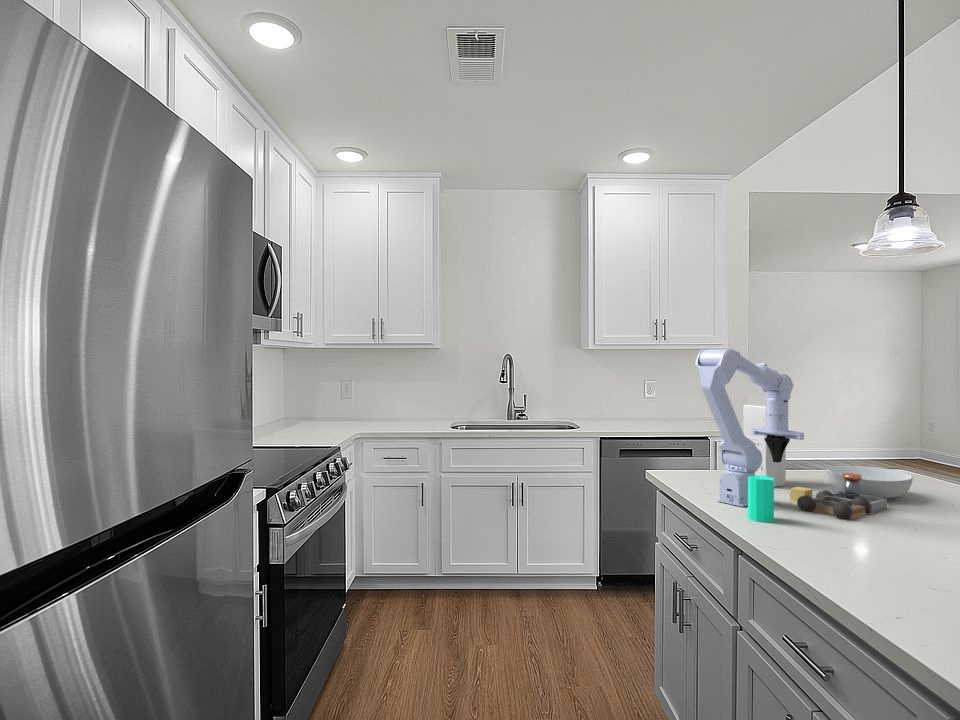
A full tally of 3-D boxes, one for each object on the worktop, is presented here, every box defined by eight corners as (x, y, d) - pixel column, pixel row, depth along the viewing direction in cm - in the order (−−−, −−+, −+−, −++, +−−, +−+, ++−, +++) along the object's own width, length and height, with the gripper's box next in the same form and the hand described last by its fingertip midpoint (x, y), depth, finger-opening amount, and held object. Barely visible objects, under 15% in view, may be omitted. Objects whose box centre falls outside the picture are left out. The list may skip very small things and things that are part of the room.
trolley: (870, 513, 156) (870, 498, 156) (849, 520, 150) (849, 504, 149) (819, 503, 167) (819, 489, 167) (797, 509, 160) (797, 494, 160)
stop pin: (857, 507, 160) (857, 477, 160) (839, 503, 164) (839, 474, 164) (864, 504, 163) (864, 475, 163) (847, 501, 167) (847, 472, 166)
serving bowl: (828, 499, 171) (828, 475, 171) (825, 485, 190) (825, 463, 190) (918, 508, 162) (918, 482, 162) (906, 492, 180) (906, 469, 180)
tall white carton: (786, 485, 189) (786, 405, 189) (766, 488, 186) (766, 406, 185) (762, 480, 197) (762, 403, 197) (742, 482, 194) (742, 404, 193)
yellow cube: (804, 503, 167) (804, 491, 167) (790, 500, 170) (790, 488, 170) (812, 501, 169) (812, 489, 169) (797, 498, 173) (797, 486, 173)
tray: (871, 513, 156) (871, 504, 156) (823, 504, 166) (823, 495, 166) (886, 508, 161) (886, 499, 161) (839, 499, 171) (839, 490, 171)
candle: (759, 523, 148) (759, 474, 148) (742, 516, 154) (742, 469, 153) (779, 521, 149) (779, 472, 149) (762, 515, 155) (762, 468, 155)
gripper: (809, 416, 172) (809, 464, 172) (761, 412, 184) (761, 457, 184) (796, 418, 168) (796, 466, 168) (747, 413, 180) (747, 459, 180)
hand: (777, 461), depth 176 cm, fingers closed
